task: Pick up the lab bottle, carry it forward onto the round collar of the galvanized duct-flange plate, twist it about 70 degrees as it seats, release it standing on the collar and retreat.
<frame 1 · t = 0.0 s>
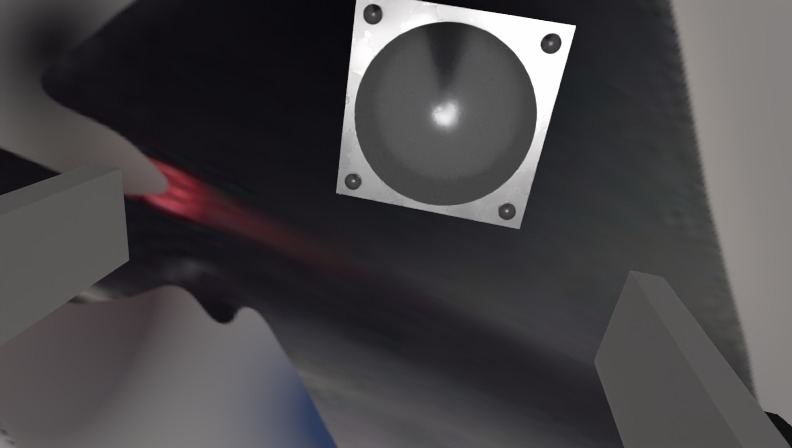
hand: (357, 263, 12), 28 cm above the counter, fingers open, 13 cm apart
flange plate: (444, 116, 38), on the counter
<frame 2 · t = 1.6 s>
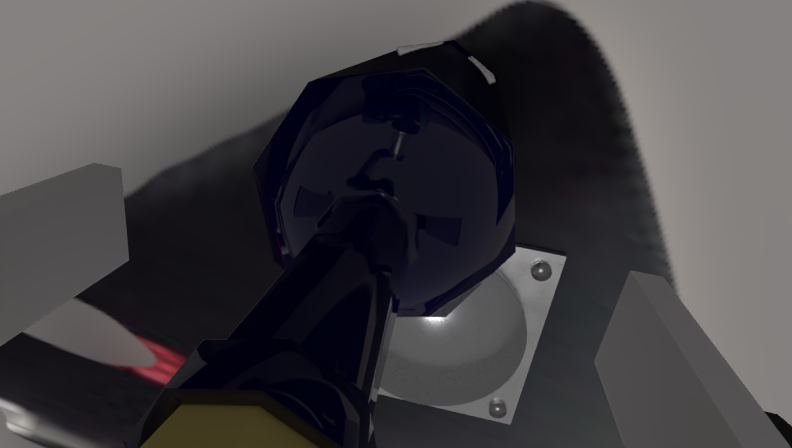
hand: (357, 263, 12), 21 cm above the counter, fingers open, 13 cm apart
bottle: (432, 111, 31), on the counter
flange plate: (433, 321, 37), on the counter
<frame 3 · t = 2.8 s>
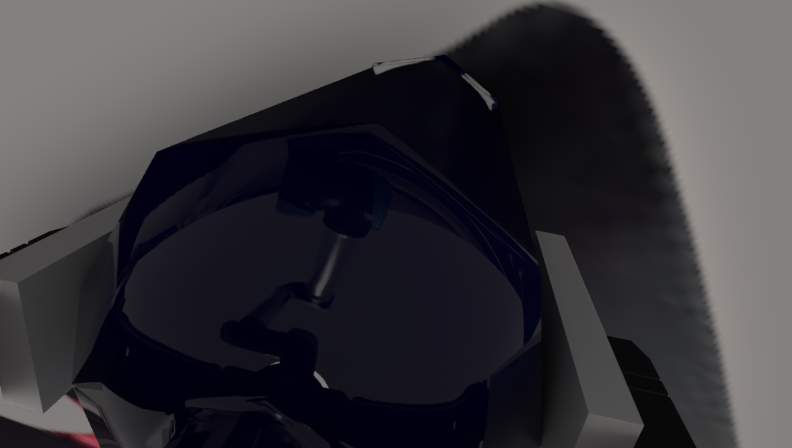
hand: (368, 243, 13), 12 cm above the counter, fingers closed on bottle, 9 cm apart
bottle: (418, 143, 25), on the counter, touching gripper
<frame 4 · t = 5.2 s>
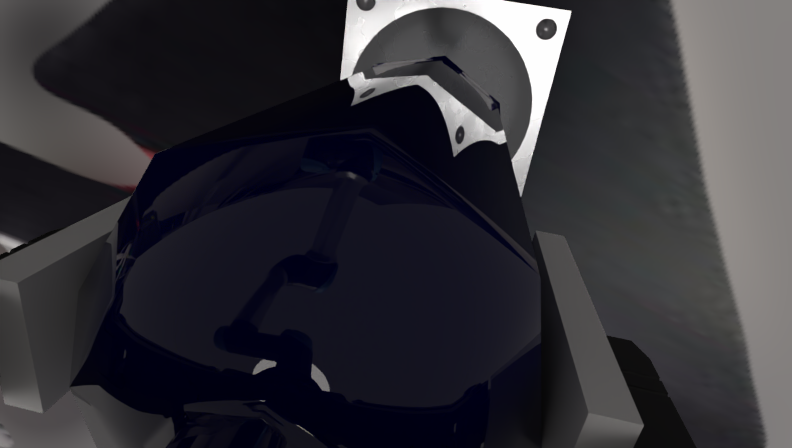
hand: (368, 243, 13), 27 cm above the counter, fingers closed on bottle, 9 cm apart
bottle: (418, 144, 25), point 14 cm above the counter, touching gripper
flange plate: (438, 104, 38), on the counter
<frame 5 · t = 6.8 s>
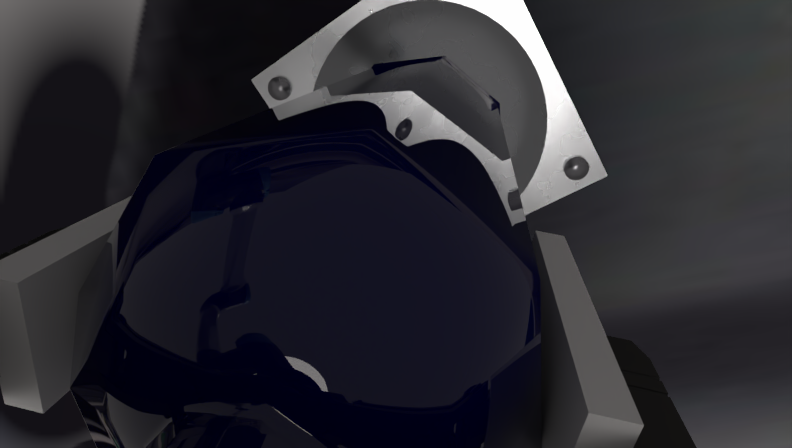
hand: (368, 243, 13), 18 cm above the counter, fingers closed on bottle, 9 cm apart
bottle: (418, 144, 25), point 5 cm above the counter, touching gripper
flange plate: (426, 125, 30), on the counter
when the fingers open (15 cm above the counter, at t = 7.9 s): bottle drops 1 cm, resting on flange plate.
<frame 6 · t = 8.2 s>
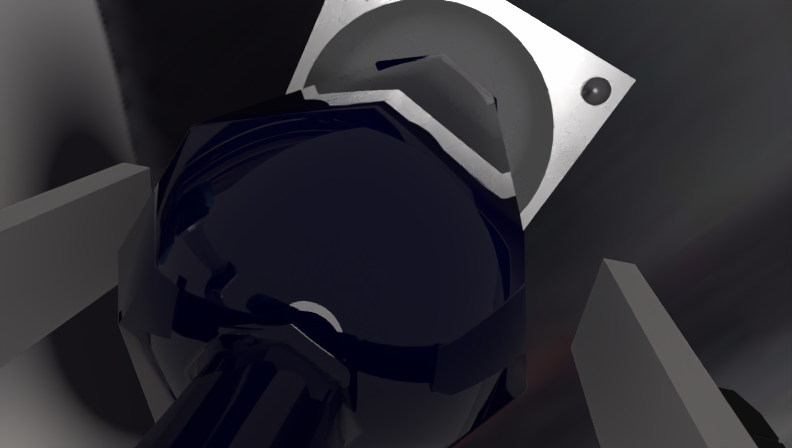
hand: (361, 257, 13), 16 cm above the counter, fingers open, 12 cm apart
bottle: (419, 138, 26), point 2 cm above the counter, touching flange plate
flange plate: (423, 133, 27), on the counter
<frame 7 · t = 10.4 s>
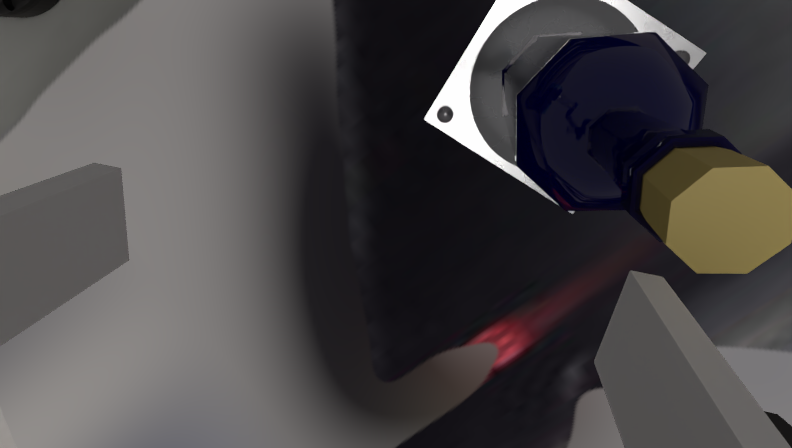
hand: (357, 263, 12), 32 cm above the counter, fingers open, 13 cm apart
bottle: (555, 89, 39), point 2 cm above the counter, touching flange plate
flange plate: (554, 87, 40), on the counter
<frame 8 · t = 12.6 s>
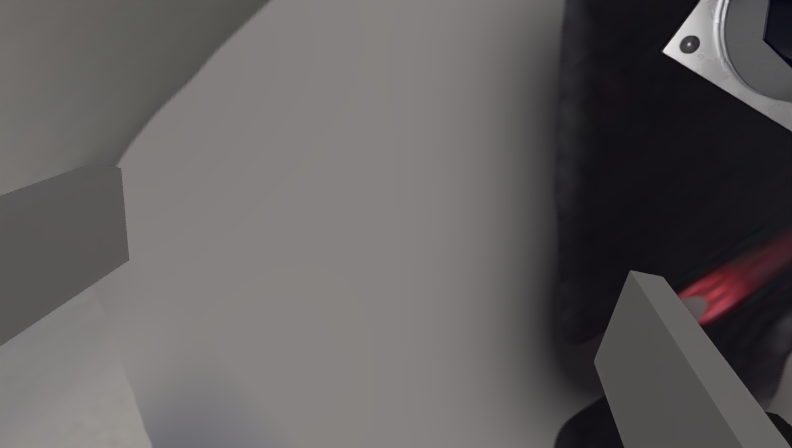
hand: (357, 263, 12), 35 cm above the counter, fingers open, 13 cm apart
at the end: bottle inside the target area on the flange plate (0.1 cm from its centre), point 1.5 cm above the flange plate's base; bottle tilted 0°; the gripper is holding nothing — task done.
